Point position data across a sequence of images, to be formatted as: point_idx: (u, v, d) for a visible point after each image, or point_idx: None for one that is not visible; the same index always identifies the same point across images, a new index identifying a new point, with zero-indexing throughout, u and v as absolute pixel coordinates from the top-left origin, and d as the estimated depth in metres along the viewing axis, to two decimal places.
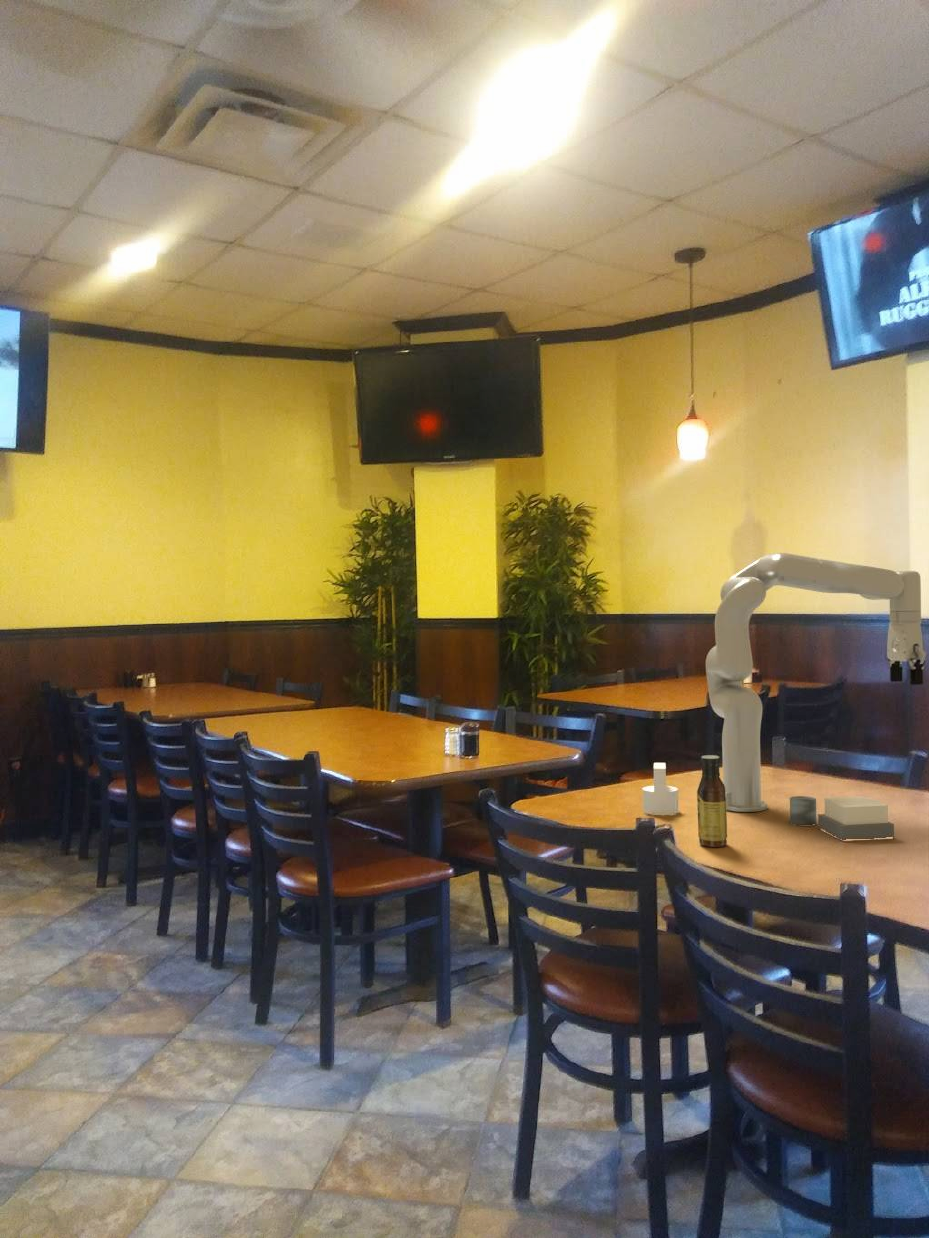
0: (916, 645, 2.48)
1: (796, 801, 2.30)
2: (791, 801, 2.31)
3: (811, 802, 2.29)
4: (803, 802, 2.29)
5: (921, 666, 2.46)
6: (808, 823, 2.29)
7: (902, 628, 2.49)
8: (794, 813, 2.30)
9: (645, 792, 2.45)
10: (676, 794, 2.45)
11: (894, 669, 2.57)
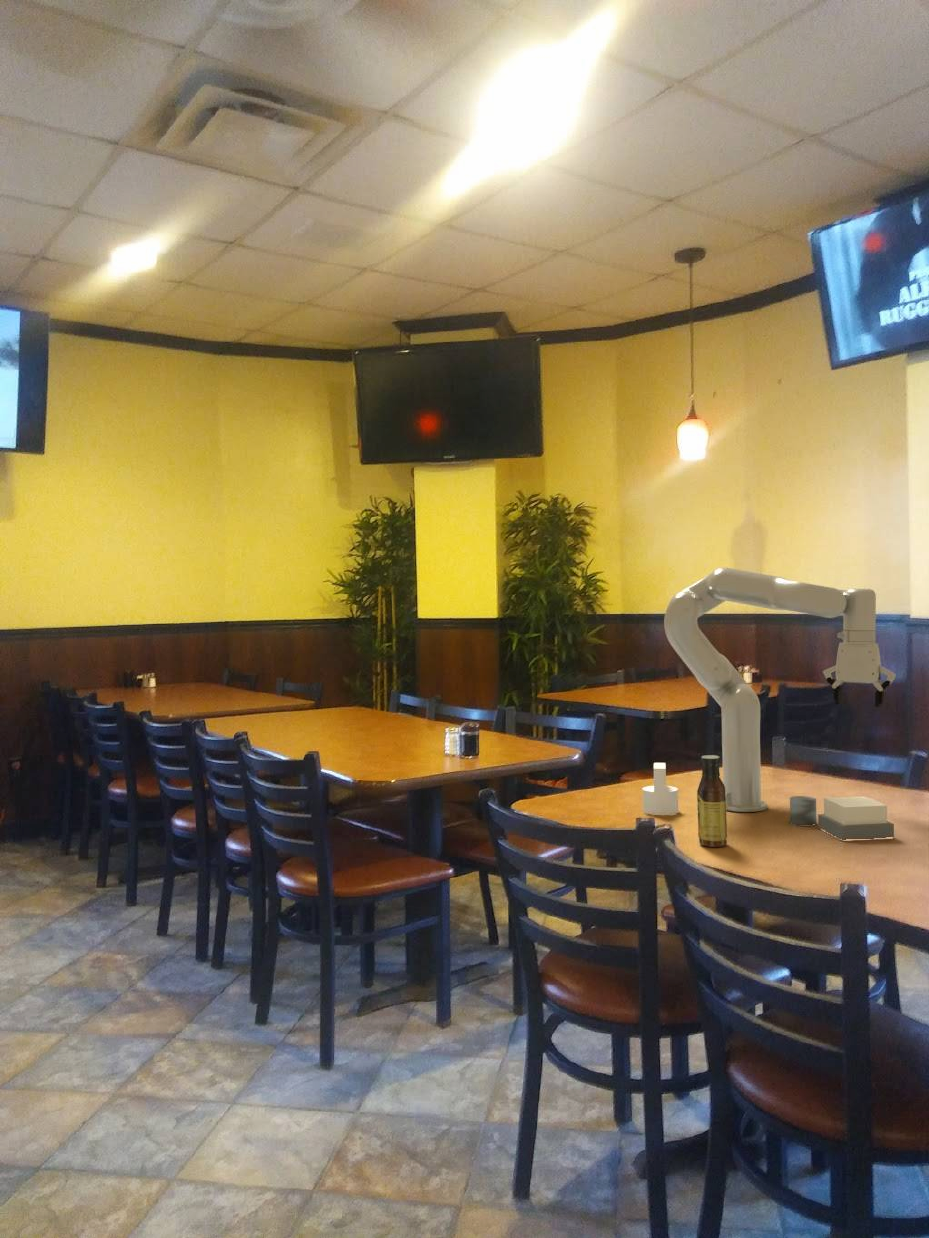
0: (880, 666, 2.39)
1: (796, 801, 2.30)
2: (791, 801, 2.31)
3: (811, 802, 2.29)
4: (803, 802, 2.29)
5: (886, 687, 2.39)
6: (808, 823, 2.29)
7: (869, 648, 2.38)
8: (794, 813, 2.30)
9: (645, 792, 2.45)
10: (676, 794, 2.45)
11: (839, 691, 2.45)
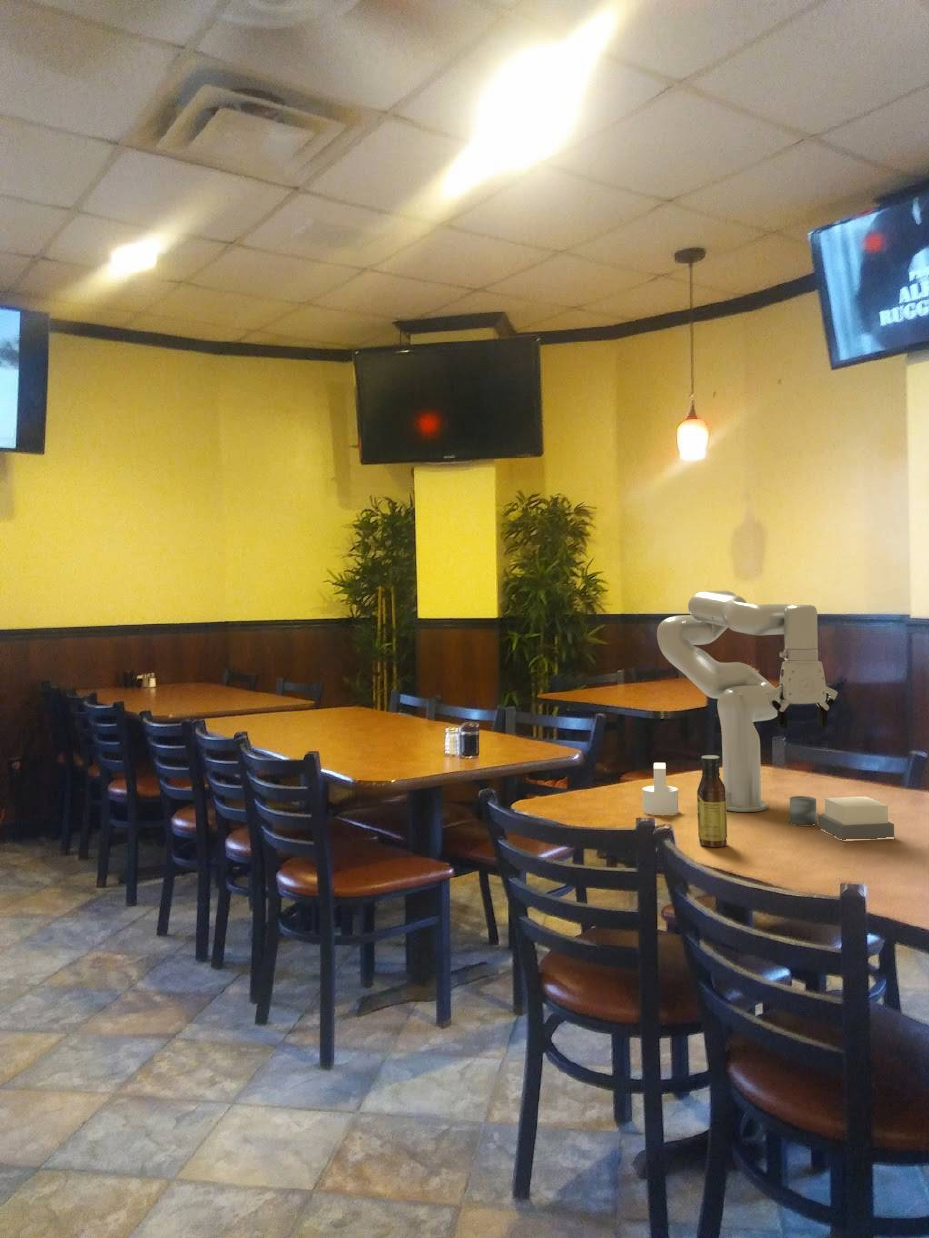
0: None
1: (796, 801, 2.30)
2: (791, 801, 2.31)
3: (811, 802, 2.29)
4: (803, 802, 2.29)
5: None
6: (808, 823, 2.29)
7: (818, 666, 2.29)
8: (794, 813, 2.30)
9: (645, 792, 2.45)
10: (676, 794, 2.45)
11: None
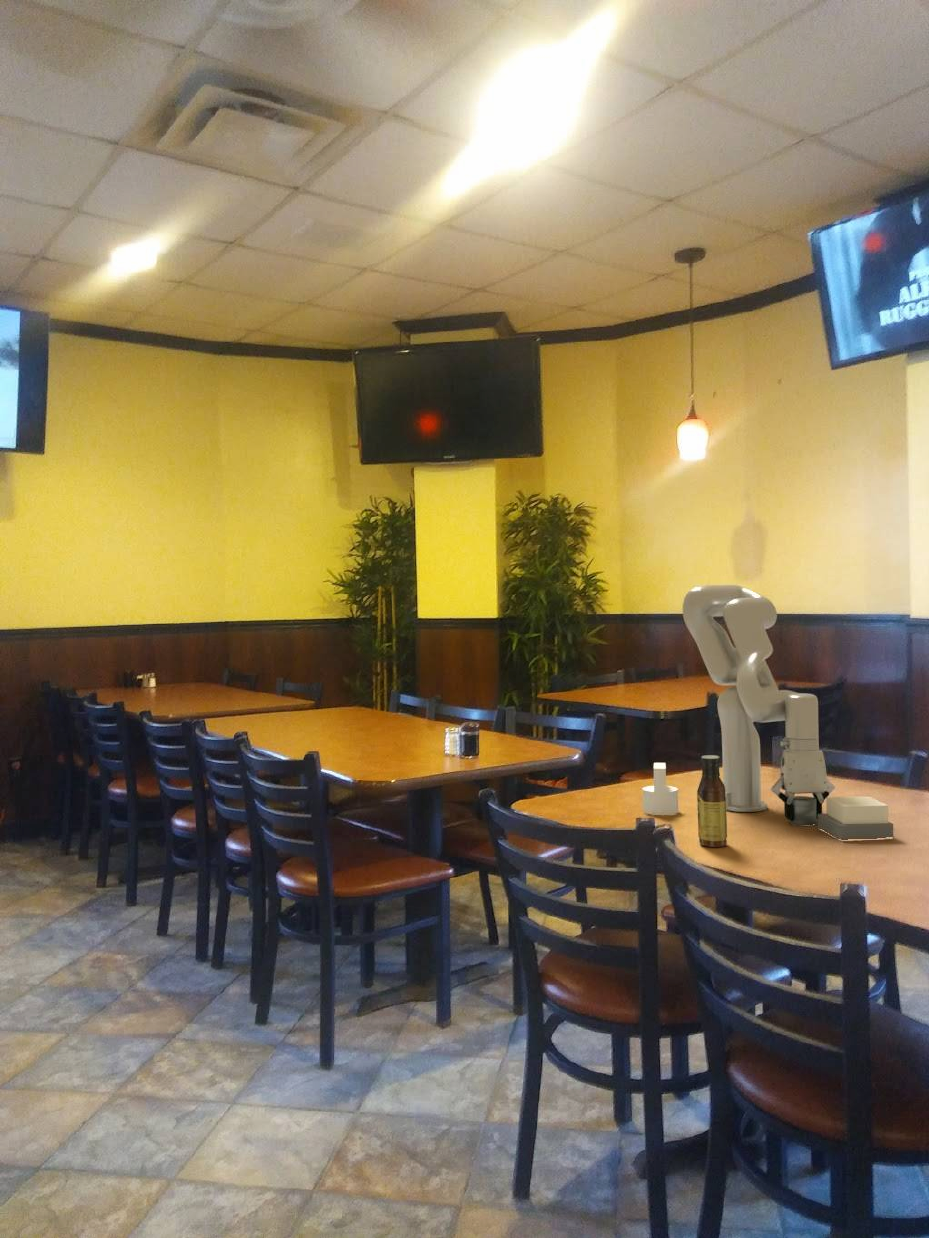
0: None
1: (796, 801, 2.30)
2: None
3: (811, 802, 2.29)
4: (803, 802, 2.29)
5: None
6: (808, 823, 2.29)
7: (819, 756, 2.29)
8: (794, 813, 2.30)
9: (645, 792, 2.45)
10: (676, 794, 2.45)
11: None
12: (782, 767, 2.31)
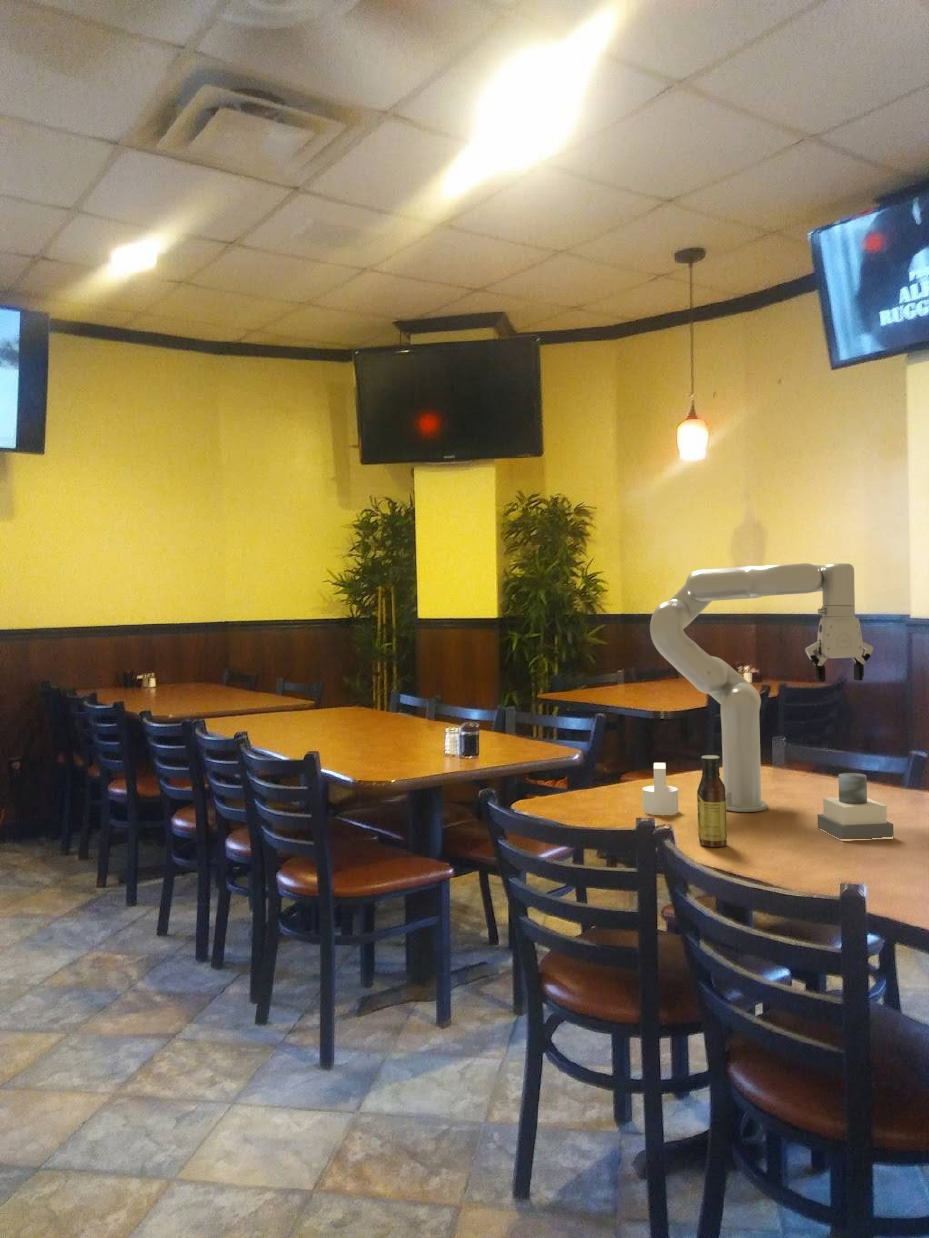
0: None
1: (846, 778, 2.18)
2: (840, 778, 2.20)
3: (862, 779, 2.17)
4: (853, 779, 2.17)
5: None
6: (859, 801, 2.17)
7: (855, 622, 2.38)
8: (844, 790, 2.19)
9: (645, 792, 2.45)
10: (676, 794, 2.45)
11: None
12: (819, 634, 2.41)
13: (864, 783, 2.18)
